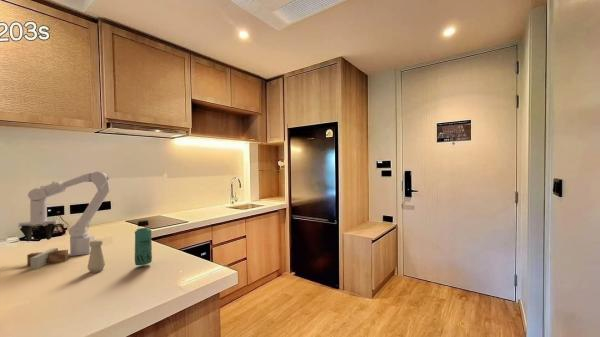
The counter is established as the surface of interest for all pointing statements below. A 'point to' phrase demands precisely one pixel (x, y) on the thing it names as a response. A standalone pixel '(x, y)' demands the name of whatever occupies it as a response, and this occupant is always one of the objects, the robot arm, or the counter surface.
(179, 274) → the counter surface
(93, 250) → the salt shaker
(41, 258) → the grey rectangular bar
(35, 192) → the robot arm
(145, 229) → the beverage bottle
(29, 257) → the brown flat bar
